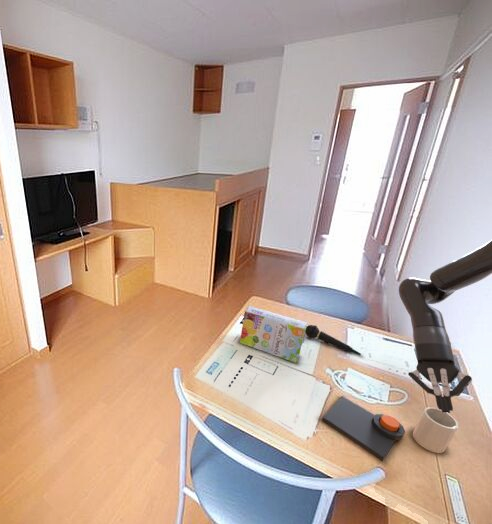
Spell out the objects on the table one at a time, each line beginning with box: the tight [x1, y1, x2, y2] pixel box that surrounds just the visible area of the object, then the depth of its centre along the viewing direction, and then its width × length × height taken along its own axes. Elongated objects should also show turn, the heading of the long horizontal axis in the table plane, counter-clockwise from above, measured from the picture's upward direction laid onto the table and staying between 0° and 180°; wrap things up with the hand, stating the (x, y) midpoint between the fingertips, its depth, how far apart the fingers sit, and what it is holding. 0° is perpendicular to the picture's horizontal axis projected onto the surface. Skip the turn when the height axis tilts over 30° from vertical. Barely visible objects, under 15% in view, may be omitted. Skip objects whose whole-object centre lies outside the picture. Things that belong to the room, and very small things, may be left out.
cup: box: [412, 406, 459, 454], centre depth 81 cm, size 7×7×9 cm
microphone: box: [305, 324, 362, 356], centre depth 120 cm, size 6×6×20 cm
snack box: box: [239, 305, 308, 364], centre depth 115 cm, size 21×6×15 cm, turn 56°
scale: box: [321, 395, 406, 462], centre depth 86 cm, size 16×14×3 cm
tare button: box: [380, 414, 401, 432], centre depth 84 cm, size 4×4×2 cm
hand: (446, 412), depth 78 cm, fingers closed
